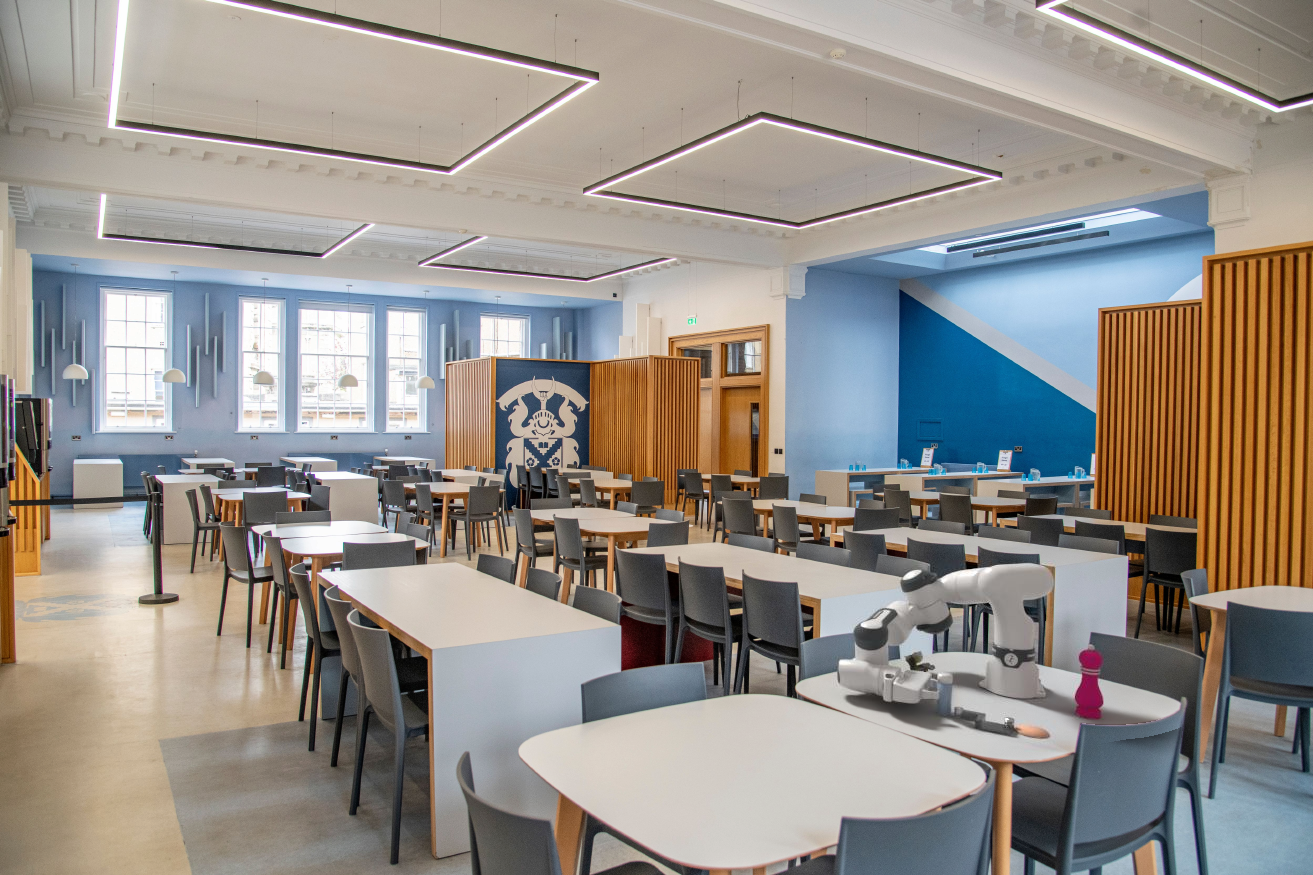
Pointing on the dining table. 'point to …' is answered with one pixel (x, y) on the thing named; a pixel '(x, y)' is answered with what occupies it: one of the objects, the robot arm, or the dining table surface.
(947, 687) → the shaker
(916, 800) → the dining table surface
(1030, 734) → the coaster
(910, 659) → the artificial flower
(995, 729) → the rail
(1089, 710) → the pepper mill
